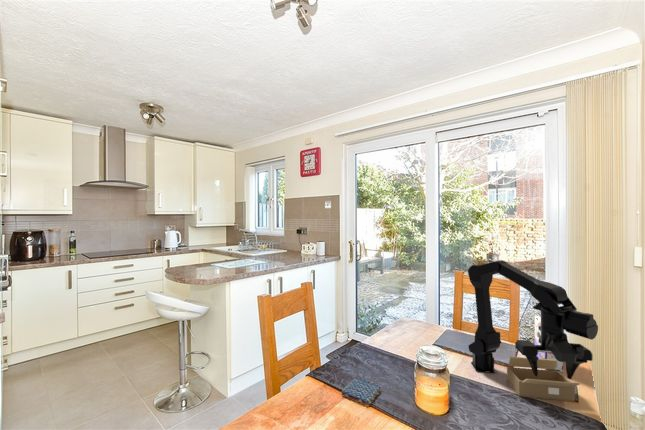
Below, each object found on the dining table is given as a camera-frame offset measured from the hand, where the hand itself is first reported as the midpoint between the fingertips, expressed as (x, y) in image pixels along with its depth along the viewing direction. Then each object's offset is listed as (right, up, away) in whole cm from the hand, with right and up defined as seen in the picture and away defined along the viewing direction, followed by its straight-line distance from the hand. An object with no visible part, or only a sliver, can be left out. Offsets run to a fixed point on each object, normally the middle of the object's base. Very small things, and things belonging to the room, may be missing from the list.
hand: (552, 377), depth 92 cm
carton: (+1, -9, +7) cm, 11 cm away
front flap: (0, -2, +1) cm, 2 cm away
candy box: (+19, -9, +26) cm, 33 cm away
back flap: (+2, -2, +12) cm, 12 cm away
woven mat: (-58, -10, +7) cm, 59 cm away
